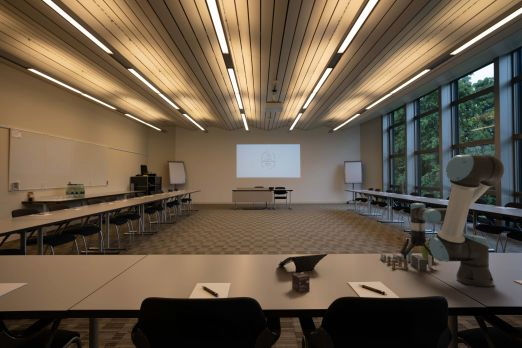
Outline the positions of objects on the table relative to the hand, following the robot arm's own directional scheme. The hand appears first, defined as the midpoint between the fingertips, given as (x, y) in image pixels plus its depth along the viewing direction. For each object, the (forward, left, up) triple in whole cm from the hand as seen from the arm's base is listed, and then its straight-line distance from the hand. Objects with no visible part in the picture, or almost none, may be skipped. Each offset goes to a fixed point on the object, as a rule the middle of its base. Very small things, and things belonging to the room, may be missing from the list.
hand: (418, 266), depth 174 cm
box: (+70, +43, 0) cm, 82 cm away
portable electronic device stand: (+69, +10, -1) cm, 70 cm away
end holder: (+12, -13, 0) cm, 18 cm away
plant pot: (-12, -14, 0) cm, 19 cm away
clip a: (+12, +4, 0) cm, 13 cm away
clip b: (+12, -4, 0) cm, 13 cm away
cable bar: (0, 0, 0) cm, 0 cm away
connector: (+1, -14, 0) cm, 14 cm away
